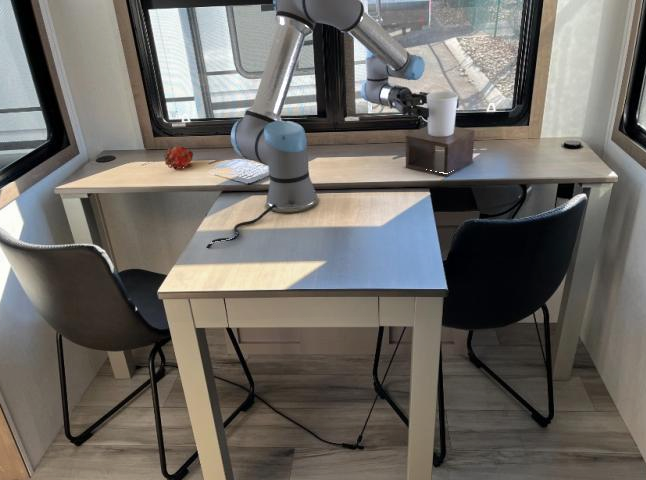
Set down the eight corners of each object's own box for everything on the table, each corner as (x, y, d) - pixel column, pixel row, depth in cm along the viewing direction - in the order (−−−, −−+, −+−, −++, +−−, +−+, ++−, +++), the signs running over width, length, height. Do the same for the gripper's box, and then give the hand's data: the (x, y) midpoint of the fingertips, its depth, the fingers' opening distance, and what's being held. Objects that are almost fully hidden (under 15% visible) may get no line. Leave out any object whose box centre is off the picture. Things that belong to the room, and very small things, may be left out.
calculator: (249, 185, 193) (248, 180, 192) (208, 174, 204) (207, 169, 203) (277, 172, 201) (276, 167, 200) (236, 162, 212) (235, 157, 211)
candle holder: (454, 127, 196) (456, 90, 189) (457, 137, 188) (459, 98, 181) (424, 128, 197) (425, 91, 190) (426, 138, 189) (427, 99, 182)
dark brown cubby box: (446, 177, 189) (448, 144, 183) (405, 167, 198) (405, 135, 192) (472, 162, 199) (474, 130, 193) (432, 153, 208) (433, 122, 202)
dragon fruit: (165, 176, 208) (192, 171, 217) (175, 166, 202) (204, 160, 211) (154, 154, 208) (183, 149, 216) (165, 143, 202) (193, 139, 210)
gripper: (422, 100, 210) (468, 111, 195) (369, 116, 197) (415, 129, 183) (422, 78, 206) (470, 88, 191) (369, 93, 193) (415, 104, 179)
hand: (443, 108), depth 187 cm, fingers open, 13 cm apart
